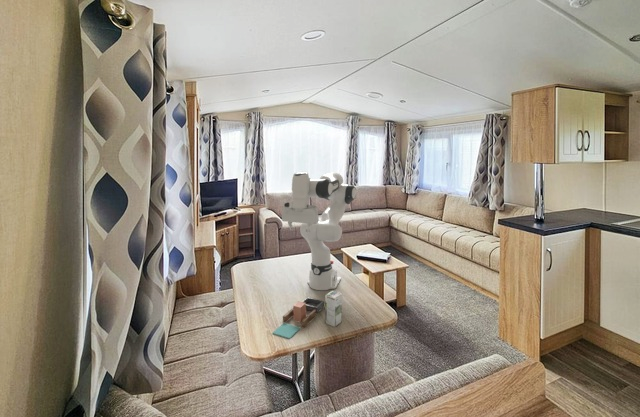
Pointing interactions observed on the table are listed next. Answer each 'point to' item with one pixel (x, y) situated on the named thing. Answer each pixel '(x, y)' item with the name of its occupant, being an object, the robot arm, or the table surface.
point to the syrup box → (333, 308)
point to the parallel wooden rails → (304, 321)
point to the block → (299, 311)
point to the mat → (286, 330)
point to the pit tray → (313, 304)
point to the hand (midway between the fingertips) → (299, 231)
